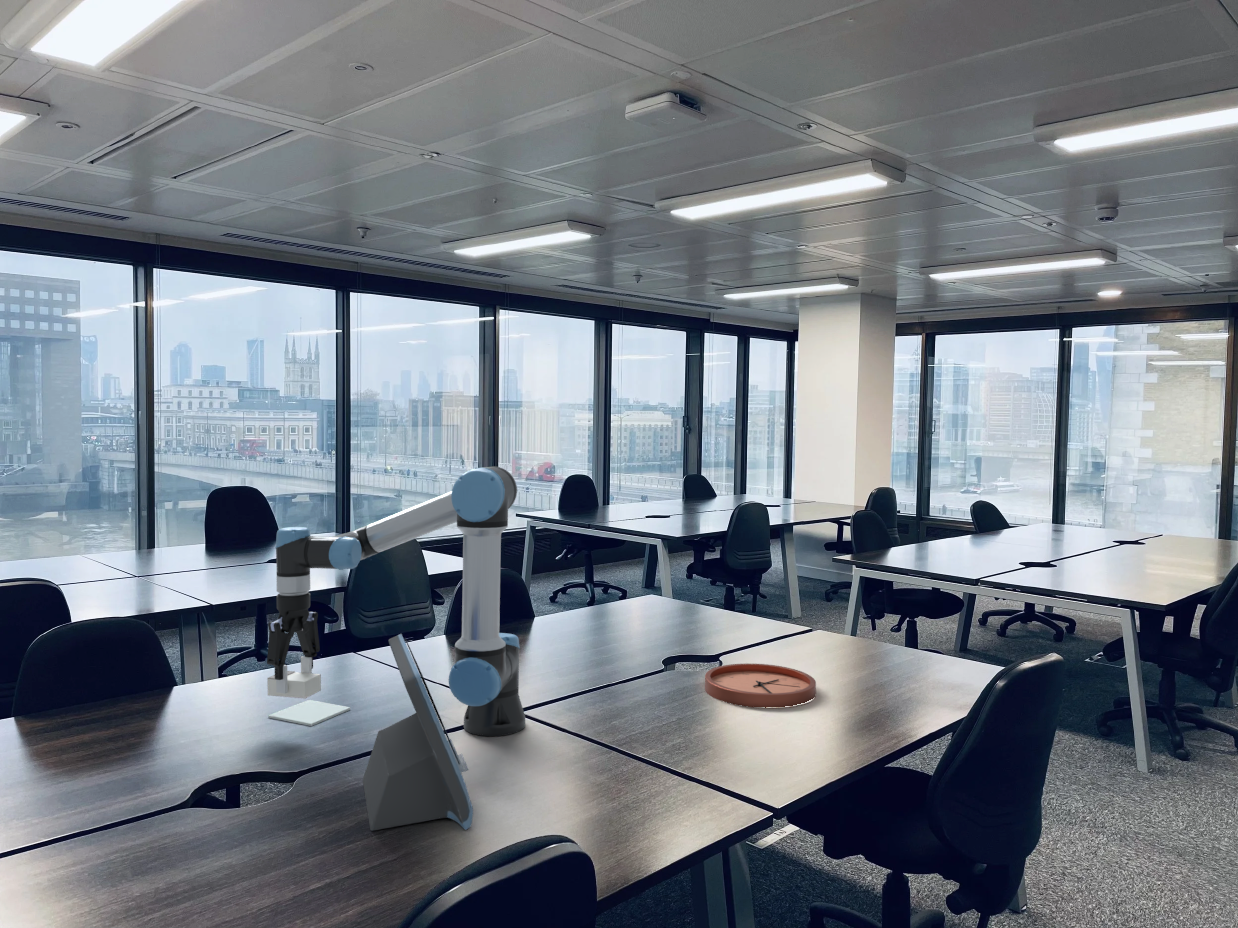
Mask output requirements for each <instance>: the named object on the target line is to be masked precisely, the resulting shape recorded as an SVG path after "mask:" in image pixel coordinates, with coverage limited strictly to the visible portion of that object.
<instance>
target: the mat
mask: <svg viewBox="0 0 1238 928" xmlns="http://www.w3.org/2000/svg"><path fill="white" fill-rule="evenodd" d="M350 710H351V707H350V706H345V705H341V704H340V705H339V704H334V703H329V702H323V701H317V700H312V699H307V700H305V701H302V702H300V703H297V704H294V705H291V706H289V707H286V708H284V709H281V710H279V711H275V712H274V713H271V714H268V715H267V717H268V718H269V719H274V720H279V721H285V722H290V723H294V724H299V725H304V726H310V727H313V726H315V725H317V724H319V723H322V722H325V721H327V720H329V719H331V718H334V717H336V716H339V715H341V714H344V713H346V712H348V711H350Z"/></svg>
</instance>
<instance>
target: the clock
mask: <svg viewBox="0 0 1238 928" xmlns="http://www.w3.org/2000/svg"><path fill="white" fill-rule="evenodd" d="M816 688H817V682H816V680H815V678H814V677H812V676H811V675H810V674H808V673H806V672H804V671H801V670H798V669H795V668H791V667H787V666H782V665H781V666H780V665H777V664H776V665H775V664H767V663H766V664H765V663H732V664H724V665H720V666H716V667H714V668H711V669H709V670H707V671H706V672H705V675H704V690H705V691H704V692H705V693H706V694H708V696H710V697H712V698H713V699H716V700H717V701H718V700H719V701H721V702H723V701H724V703H726V702H727V704H730V703H731V704H730V705H734V704H736V705H735V706H739V705H742V707H746V706H748V707H747V708H754V707H765V708H764V709H767V708H766V707H785V706H793V705H797V704H801V703H805V702H807V701H809V700H811V699H813V698H814V697H815V698H816V696H815V694H817V693H816V692H817V689H816Z"/></svg>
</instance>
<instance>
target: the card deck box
mask: <svg viewBox="0 0 1238 928" xmlns="http://www.w3.org/2000/svg"><path fill="white" fill-rule="evenodd" d="M266 680H267V696H269V697H279V698H282V697H283V698H294V699H303V700H305V699H307V698H310V697H311V696H313V695H315V694H317V693H319V692H321V691H322V674H321V673H301V672H297V671H295V670H294V671H293V670H287V684H288V693H286V694H284V693H278V692H276V679H275V674H273V675H271V676H269V677H267V679H266Z"/></svg>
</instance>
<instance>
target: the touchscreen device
mask: <svg viewBox="0 0 1238 928" xmlns="http://www.w3.org/2000/svg"><path fill="white" fill-rule="evenodd" d="M388 644H389V646H390V649H391V652H392V655H393V657H394V660H395V663H396V666H397V669H398V672H399V674H400V676H401V679H402V683H403V684H404V687H405V690H406V691H407V695H408V696H409V699H410V701H411V704H412V706H413V708H414V711H415V713H413V714H411V715H408V716H407V717H405V718H403V719H402V720H399V721H397V722H395V723H393V724H391V725H389V726H387V727H385V728H383V729H380V730H378V731H377V735H376V737H375V740H374V744H373V747H372V750H371V753H370V757H369V759H368V763H367V766H366V769H365V772H364V775H363V778H362V784H363V791H364V798H365V806H366V810H367V818H368V824H369V829H370V831H372V832H373V831H378V830H383V829H390V828H396V827H400V826H401V827H402V826H406V825H412V824H417V823H423V822H428V821H432V820H433V821H434V820H438V819H444V818H446V819H447V818H448V819H451V820H453V821H455V822H456V823H458V824H459V826H460V827H461V828H462V829H463V830H465V831H466V830H468V829H470V828H471V826H472V824H473V817H474V816H473V815H474V809H473V806H472V801H471V800H470V799H471V798H470V795H469V791H468V788H467V787H468V786H467V785H466V782H465V780H464V777H463V775H462V773H464V772H467V771H469V770H470V769H469V766H468V764H467V761H466V759H465V758H464V756H463V754H462V753H458V752H457V750H456V747H455V746H454V742H453V741H452V738H450V737H449V735H448V732H447V729H446V727H445V726H444V725H445V724H444V722H443V721H442V720H443V719H442V718H441V716H440V713H439V711H438V708H437V706H436V703H435V702H434V699H433V697H432V694H431V692H430V690H429V689H430V688H429V687H428V685H427V682H426V680H425V678H424V676H423V673H422V670H421V668H420V666H419V665H418V663H417V661H416V658H415V656H414V654H413V651H412V649H411V647H410V644H409V643H408V641H407V638H406V637H405V638H404V637H403V634H402V633H400V634H398V635H396V636H393V637H391V638H389V639H388Z"/></svg>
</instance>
